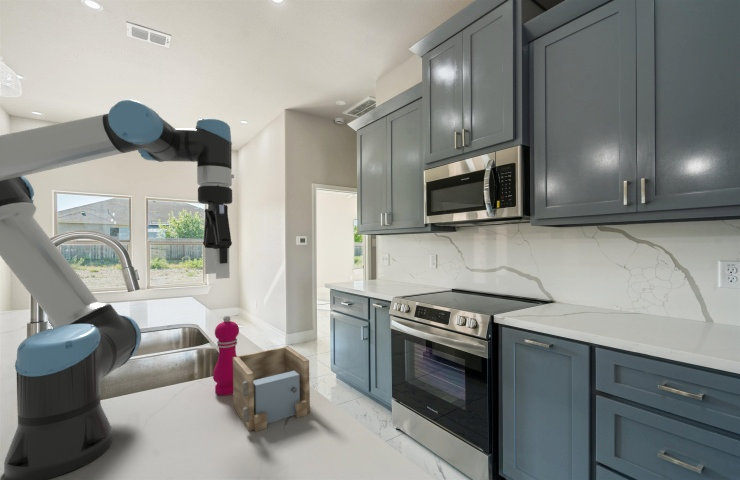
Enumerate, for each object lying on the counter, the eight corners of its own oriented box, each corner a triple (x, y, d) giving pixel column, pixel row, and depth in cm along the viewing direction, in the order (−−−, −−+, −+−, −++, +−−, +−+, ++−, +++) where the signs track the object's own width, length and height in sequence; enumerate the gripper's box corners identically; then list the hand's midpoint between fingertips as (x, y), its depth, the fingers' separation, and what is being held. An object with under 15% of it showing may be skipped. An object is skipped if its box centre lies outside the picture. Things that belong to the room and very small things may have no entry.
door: (257, 429, 74) (256, 386, 74) (252, 421, 77) (251, 380, 77) (301, 414, 79) (300, 375, 79) (294, 408, 82) (294, 370, 82)
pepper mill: (232, 397, 88) (230, 319, 88) (207, 395, 90) (205, 318, 90) (247, 385, 95) (246, 313, 95) (224, 383, 97) (223, 312, 97)
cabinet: (245, 434, 71) (244, 376, 71) (229, 407, 83) (228, 357, 83) (311, 413, 80) (310, 361, 80) (289, 391, 91) (288, 346, 91)
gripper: (245, 180, 74) (246, 279, 74) (221, 193, 95) (222, 270, 95) (207, 177, 70) (209, 282, 70) (190, 192, 91) (191, 272, 91)
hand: (216, 275), depth 83 cm, fingers open, 13 cm apart
